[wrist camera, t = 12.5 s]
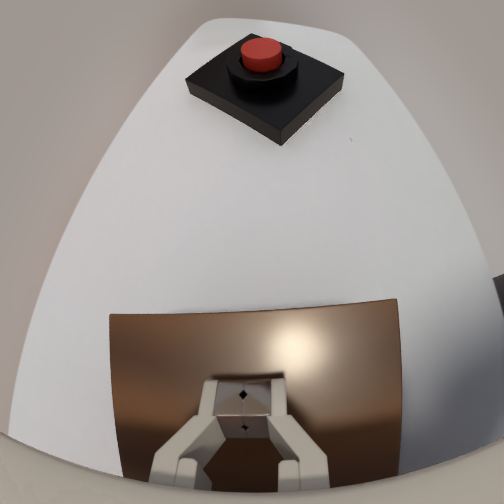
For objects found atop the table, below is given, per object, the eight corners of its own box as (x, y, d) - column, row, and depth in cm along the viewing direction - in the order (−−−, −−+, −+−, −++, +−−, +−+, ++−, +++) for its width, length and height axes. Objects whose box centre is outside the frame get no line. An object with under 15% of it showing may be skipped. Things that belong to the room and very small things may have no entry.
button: (289, 59, 24) (289, 45, 22) (264, 77, 23) (263, 63, 22) (260, 47, 25) (258, 33, 23) (235, 64, 24) (232, 50, 23)
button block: (342, 88, 27) (346, 59, 23) (281, 146, 25) (279, 116, 22) (253, 47, 30) (249, 20, 26) (190, 93, 28) (179, 66, 25)
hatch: (117, 315, 13) (108, 313, 13) (391, 300, 12) (397, 297, 12) (152, 562, 9) (147, 569, 9) (377, 563, 8) (380, 570, 8)
